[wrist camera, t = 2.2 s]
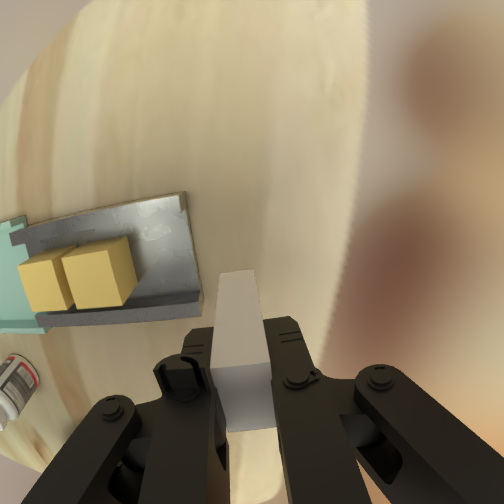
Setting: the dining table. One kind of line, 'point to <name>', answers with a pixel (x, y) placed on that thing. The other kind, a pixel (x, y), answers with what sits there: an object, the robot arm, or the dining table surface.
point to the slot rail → (143, 256)
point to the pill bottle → (15, 387)
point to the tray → (14, 285)
